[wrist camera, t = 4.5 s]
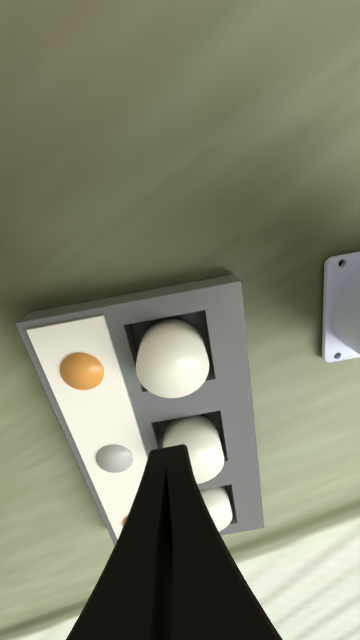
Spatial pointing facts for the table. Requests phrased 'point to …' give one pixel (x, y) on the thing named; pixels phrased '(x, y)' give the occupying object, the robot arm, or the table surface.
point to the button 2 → (197, 444)
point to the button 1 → (172, 359)
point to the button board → (137, 402)
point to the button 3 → (218, 506)
